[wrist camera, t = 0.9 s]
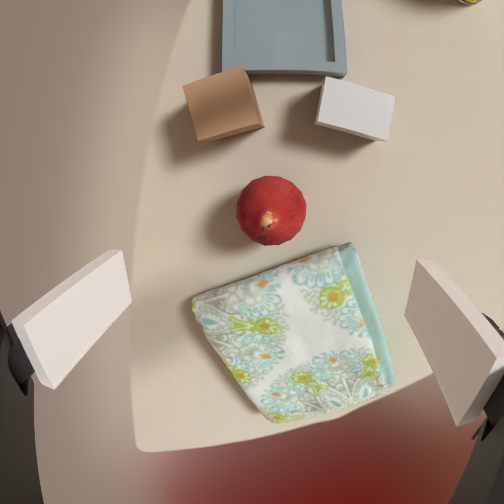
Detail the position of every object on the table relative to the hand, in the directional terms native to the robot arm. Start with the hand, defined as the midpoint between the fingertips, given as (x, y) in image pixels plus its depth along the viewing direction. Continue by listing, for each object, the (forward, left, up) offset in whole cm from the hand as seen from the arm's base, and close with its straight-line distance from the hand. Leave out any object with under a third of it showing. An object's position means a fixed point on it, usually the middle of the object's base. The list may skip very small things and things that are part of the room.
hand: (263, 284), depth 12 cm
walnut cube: (-9, -5, -17) cm, 20 cm away
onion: (0, -1, -17) cm, 17 cm away
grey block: (-9, +6, -17) cm, 20 cm away
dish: (-18, 0, -17) cm, 25 cm away
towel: (+16, +3, -18) cm, 24 cm away
